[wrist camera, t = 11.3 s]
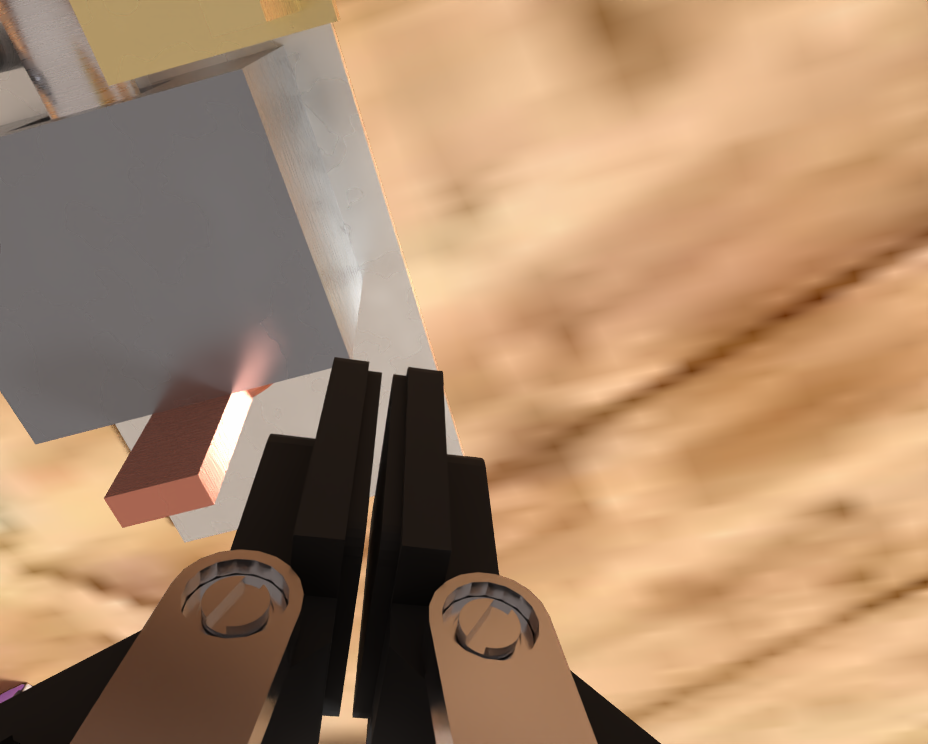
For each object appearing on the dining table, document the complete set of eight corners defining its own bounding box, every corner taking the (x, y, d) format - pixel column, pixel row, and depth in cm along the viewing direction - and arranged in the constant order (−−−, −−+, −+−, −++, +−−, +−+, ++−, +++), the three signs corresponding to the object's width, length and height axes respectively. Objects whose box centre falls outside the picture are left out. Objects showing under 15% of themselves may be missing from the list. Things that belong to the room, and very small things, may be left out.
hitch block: (498, 453, 39) (523, 576, 31) (189, 529, 40) (135, 668, 32) (346, -100, 27) (321, -133, 19) (-99, 31, 28) (-306, 53, 20)
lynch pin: (295, 337, 32) (248, 496, 22) (184, 366, 32) (89, 536, 22) (124, -81, 24) (-67, -122, 14) (-20, -39, 24) (-304, -50, 15)
